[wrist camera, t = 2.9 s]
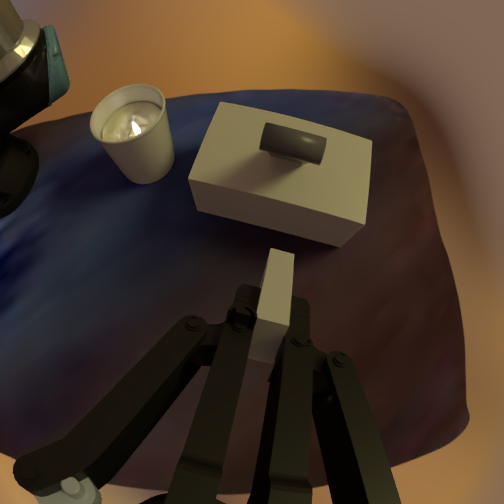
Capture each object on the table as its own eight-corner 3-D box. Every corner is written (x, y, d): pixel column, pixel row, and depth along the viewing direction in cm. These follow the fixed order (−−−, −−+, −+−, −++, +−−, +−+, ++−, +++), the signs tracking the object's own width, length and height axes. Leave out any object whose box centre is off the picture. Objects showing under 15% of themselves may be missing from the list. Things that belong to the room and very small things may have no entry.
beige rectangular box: (197, 210, 41) (187, 178, 32) (223, 139, 44) (221, 100, 36) (340, 247, 41) (365, 224, 32) (350, 172, 44) (372, 139, 35)
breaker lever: (264, 158, 34) (258, 148, 23) (269, 138, 33) (265, 119, 22) (307, 169, 33) (321, 164, 23) (312, 149, 33) (328, 136, 22)
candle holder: (184, 134, 44) (171, 80, 33) (174, 189, 42) (155, 140, 30) (126, 136, 44) (102, 87, 33) (112, 190, 42) (79, 145, 30)
